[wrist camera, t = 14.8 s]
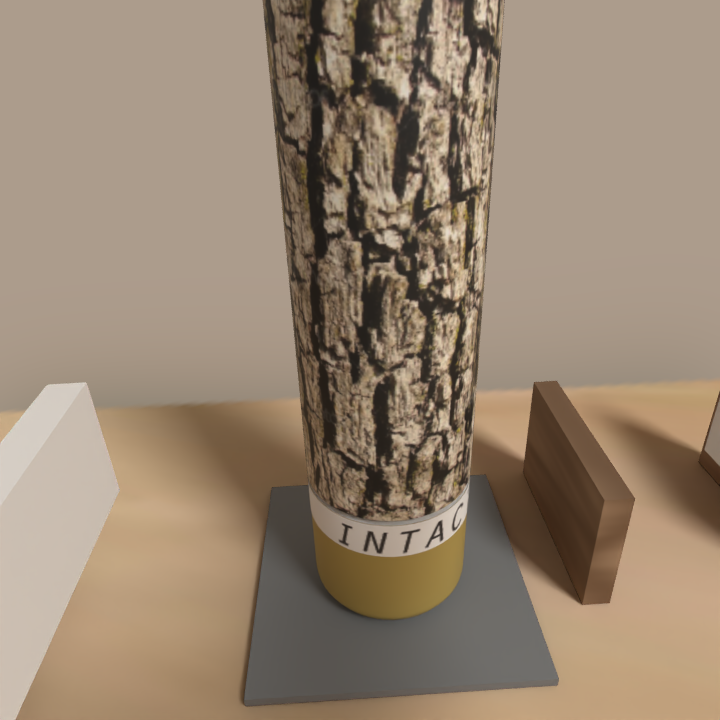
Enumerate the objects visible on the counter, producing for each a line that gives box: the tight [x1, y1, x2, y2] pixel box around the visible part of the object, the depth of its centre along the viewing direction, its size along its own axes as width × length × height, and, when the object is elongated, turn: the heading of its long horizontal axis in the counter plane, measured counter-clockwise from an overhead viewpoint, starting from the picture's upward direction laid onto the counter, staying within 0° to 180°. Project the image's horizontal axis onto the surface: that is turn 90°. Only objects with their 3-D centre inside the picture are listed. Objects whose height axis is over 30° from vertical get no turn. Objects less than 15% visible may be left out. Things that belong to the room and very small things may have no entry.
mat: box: [244, 475, 559, 706], centre depth 28 cm, size 12×12×1 cm
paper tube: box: [263, 0, 504, 620], centre depth 21 cm, size 7×7×25 cm
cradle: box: [523, 381, 720, 605], centre depth 28 cm, size 11×9×6 cm
